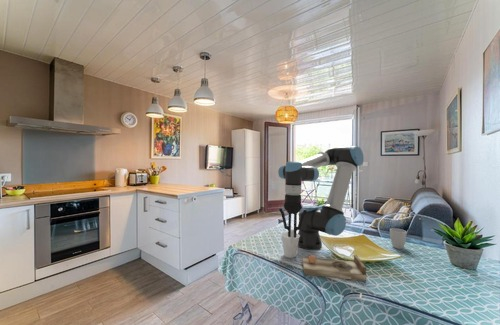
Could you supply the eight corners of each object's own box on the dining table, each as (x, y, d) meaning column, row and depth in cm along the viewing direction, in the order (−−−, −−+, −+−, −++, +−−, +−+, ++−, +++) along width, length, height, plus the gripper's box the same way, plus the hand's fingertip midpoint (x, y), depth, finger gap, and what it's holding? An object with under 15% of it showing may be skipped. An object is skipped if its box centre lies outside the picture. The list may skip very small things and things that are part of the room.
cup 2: (409, 248, 120) (409, 231, 121) (400, 250, 117) (400, 233, 118) (395, 243, 128) (395, 227, 128) (386, 245, 125) (386, 228, 125)
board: (302, 261, 102) (302, 250, 103) (356, 267, 98) (356, 255, 98) (304, 274, 91) (304, 261, 91) (365, 281, 86) (366, 267, 86)
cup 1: (300, 253, 112) (300, 232, 113) (299, 261, 103) (299, 239, 103) (281, 250, 115) (281, 231, 115) (279, 258, 106) (279, 236, 106)
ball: (307, 260, 98) (307, 253, 98) (315, 261, 97) (315, 254, 97) (308, 264, 94) (308, 256, 94) (316, 265, 94) (316, 257, 94)
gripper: (278, 194, 95) (277, 245, 95) (307, 195, 93) (306, 248, 93) (279, 192, 103) (278, 240, 102) (306, 193, 100) (305, 242, 100)
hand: (291, 244), depth 97 cm, fingers closed
